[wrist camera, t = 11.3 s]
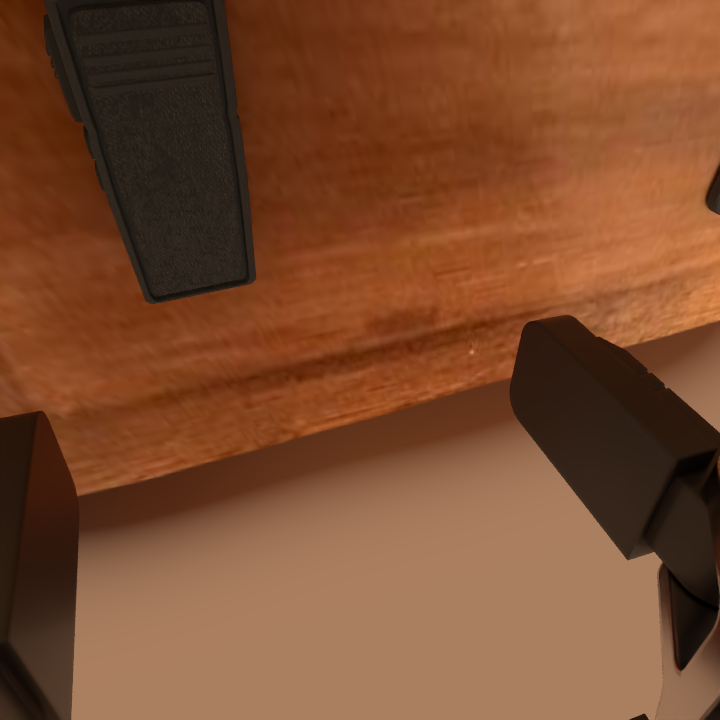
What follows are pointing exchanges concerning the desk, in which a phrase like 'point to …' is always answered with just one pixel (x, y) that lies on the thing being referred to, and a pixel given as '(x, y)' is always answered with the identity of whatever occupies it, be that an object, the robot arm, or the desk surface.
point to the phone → (715, 197)
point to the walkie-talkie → (161, 135)
